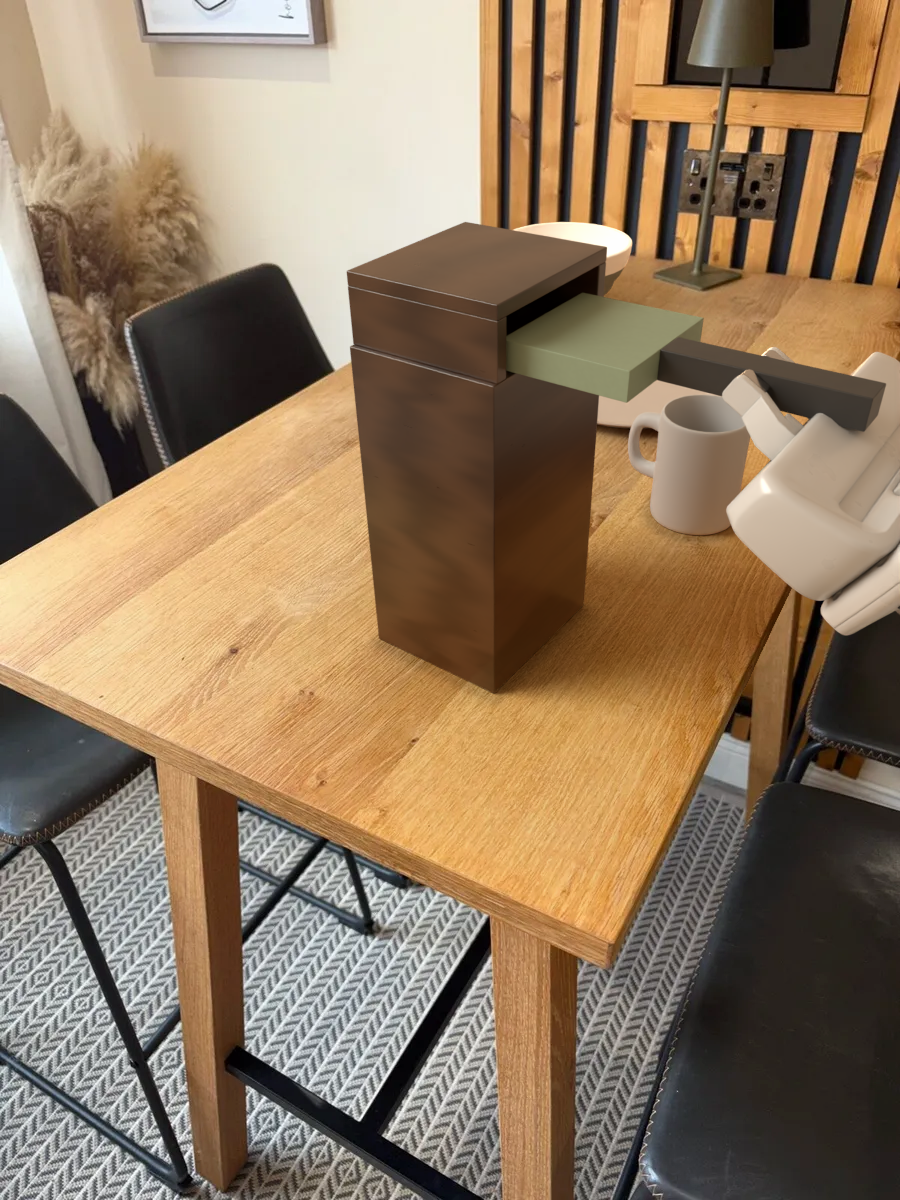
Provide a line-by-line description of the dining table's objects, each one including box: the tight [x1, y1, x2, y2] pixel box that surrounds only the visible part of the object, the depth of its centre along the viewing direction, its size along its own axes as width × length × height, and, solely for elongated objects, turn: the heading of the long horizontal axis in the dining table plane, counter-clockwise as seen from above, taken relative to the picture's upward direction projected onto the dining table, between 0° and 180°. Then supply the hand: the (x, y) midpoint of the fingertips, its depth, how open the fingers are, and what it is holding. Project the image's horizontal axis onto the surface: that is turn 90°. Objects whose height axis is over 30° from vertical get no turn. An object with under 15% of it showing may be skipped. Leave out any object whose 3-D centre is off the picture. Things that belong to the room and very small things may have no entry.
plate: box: [597, 380, 722, 429], centre depth 115 cm, size 26×26×2 cm
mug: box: [627, 395, 751, 536], centre depth 91 cm, size 12×8×11 cm
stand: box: [346, 221, 607, 694], centre depth 71 cm, size 12×14×31 cm
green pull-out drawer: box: [506, 293, 886, 432], centre depth 56 cm, size 22×10×2 cm, turn 53°
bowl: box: [513, 221, 633, 296], centre depth 138 cm, size 20×20×10 cm
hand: (746, 369), depth 54 cm, fingers closed on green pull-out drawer, 2 cm apart
